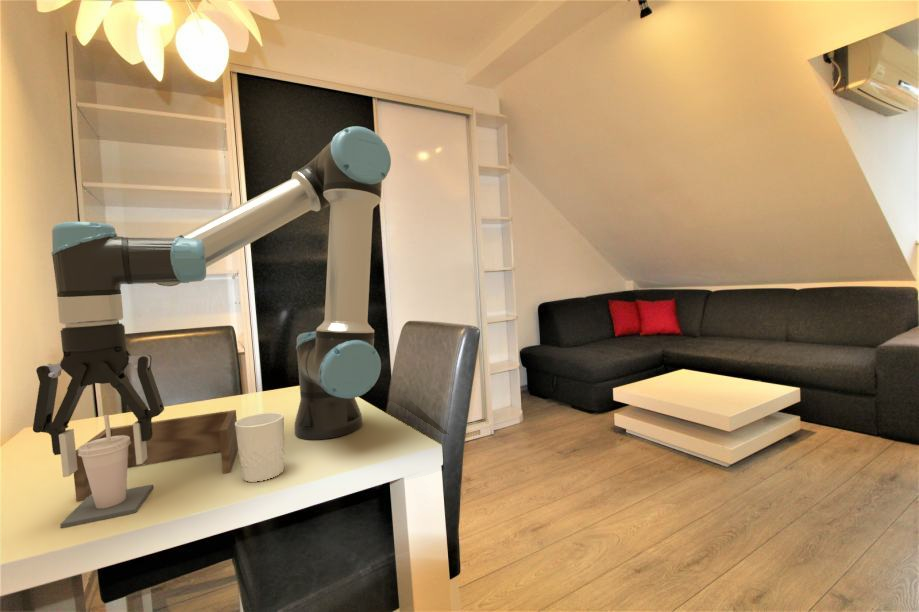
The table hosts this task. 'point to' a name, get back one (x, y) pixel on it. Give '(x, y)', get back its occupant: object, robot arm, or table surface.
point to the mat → (91, 513)
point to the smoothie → (106, 467)
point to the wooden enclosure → (174, 443)
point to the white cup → (261, 446)
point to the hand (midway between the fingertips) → (107, 467)
